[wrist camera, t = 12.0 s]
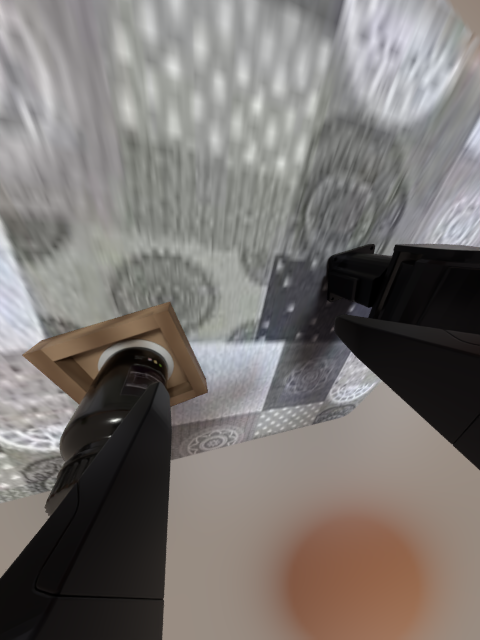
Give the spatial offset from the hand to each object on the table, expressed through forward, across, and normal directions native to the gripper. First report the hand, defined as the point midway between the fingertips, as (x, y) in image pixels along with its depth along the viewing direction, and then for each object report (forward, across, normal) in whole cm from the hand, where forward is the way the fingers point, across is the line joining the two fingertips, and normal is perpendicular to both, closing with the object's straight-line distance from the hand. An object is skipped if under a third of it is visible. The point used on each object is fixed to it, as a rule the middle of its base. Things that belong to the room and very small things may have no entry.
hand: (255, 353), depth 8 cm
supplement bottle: (+12, +12, +7) cm, 18 cm away
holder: (+13, +12, +7) cm, 19 cm away
